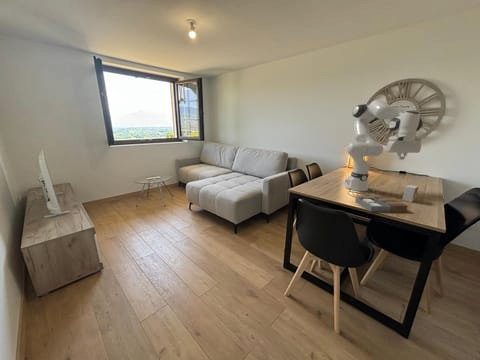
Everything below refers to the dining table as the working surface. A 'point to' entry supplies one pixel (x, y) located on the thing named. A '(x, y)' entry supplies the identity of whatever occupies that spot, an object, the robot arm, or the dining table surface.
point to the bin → (381, 208)
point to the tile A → (368, 201)
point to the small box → (410, 193)
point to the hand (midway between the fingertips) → (400, 159)
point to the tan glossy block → (393, 204)
